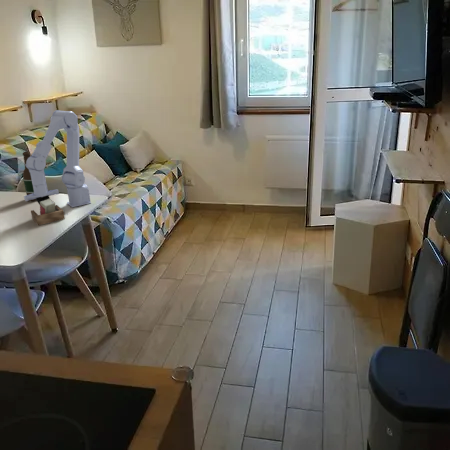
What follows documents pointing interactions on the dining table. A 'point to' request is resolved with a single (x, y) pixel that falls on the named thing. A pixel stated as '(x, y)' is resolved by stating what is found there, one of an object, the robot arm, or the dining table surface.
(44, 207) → the small box
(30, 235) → the dining table surface
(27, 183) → the beer bottle
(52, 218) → the walnut shelf bay
